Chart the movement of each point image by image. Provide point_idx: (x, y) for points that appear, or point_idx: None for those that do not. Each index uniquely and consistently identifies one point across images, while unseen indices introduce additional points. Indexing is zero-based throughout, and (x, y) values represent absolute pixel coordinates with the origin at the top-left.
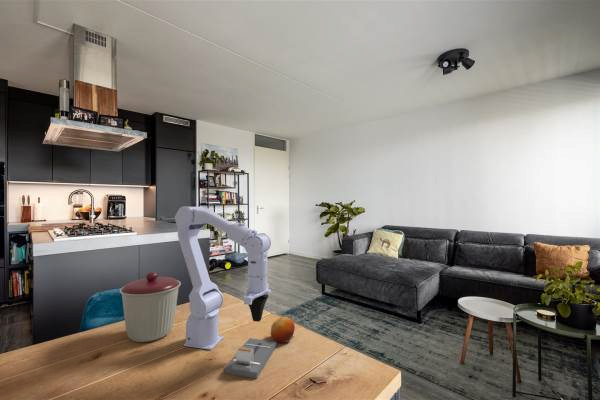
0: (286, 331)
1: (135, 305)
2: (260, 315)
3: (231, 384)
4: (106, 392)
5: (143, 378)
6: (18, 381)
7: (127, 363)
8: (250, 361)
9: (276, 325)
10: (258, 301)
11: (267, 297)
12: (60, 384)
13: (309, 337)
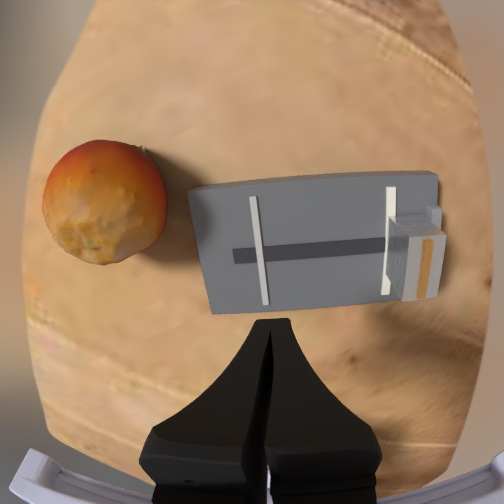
0: (133, 161)
1: None
2: (294, 341)
3: (461, 238)
4: (462, 419)
5: (433, 412)
6: (424, 482)
7: (387, 453)
8: (426, 221)
9: (131, 230)
10: (376, 462)
11: (191, 442)
12: (436, 461)
13: (73, 91)
